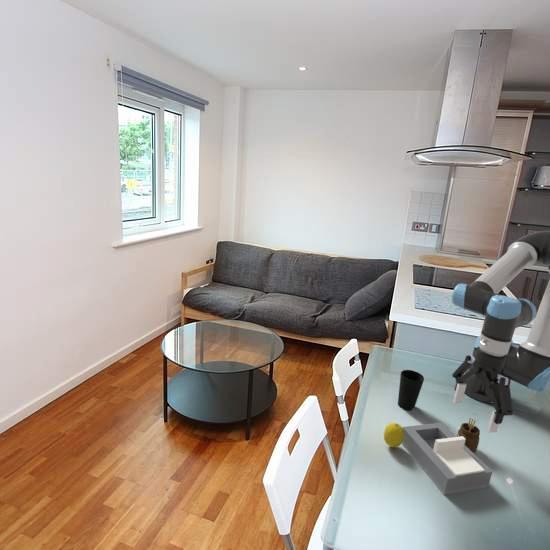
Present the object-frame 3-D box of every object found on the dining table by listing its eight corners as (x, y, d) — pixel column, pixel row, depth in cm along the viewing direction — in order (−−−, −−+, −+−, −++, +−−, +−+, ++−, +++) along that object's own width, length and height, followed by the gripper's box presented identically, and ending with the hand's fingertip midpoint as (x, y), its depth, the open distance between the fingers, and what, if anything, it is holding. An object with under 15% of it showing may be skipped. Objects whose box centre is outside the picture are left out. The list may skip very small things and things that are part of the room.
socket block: (438, 436, 120) (441, 422, 118) (487, 487, 101) (492, 471, 100) (399, 440, 116) (402, 426, 114) (443, 494, 97) (448, 478, 96)
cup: (418, 414, 130) (426, 383, 127) (395, 409, 131) (402, 379, 128) (415, 401, 137) (422, 372, 134) (393, 397, 138) (399, 368, 135)
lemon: (401, 443, 115) (406, 420, 113) (400, 455, 110) (405, 432, 108) (382, 438, 116) (386, 415, 114) (381, 449, 111) (385, 426, 109)
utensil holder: (477, 447, 116) (487, 413, 113) (473, 458, 111) (483, 423, 108) (457, 438, 120) (465, 405, 116) (452, 448, 115) (461, 414, 111)
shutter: (459, 447, 108) (462, 436, 107) (484, 471, 100) (487, 459, 98) (432, 451, 105) (435, 439, 104) (455, 476, 97) (458, 464, 96)
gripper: (450, 332, 117) (435, 392, 123) (519, 374, 94) (497, 446, 100) (470, 331, 119) (454, 391, 125) (542, 373, 96) (519, 444, 102)
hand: (473, 416), depth 112 cm, fingers open, 13 cm apart
